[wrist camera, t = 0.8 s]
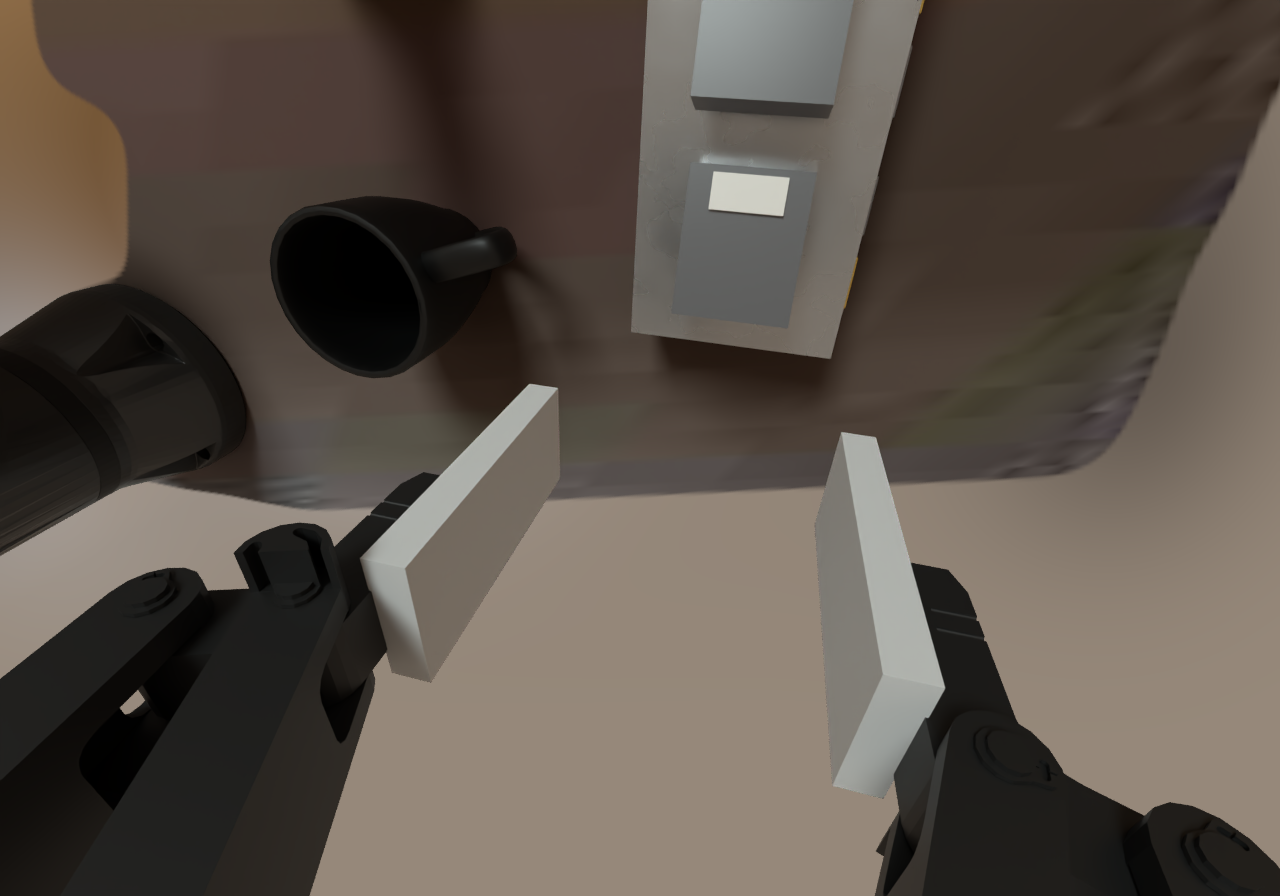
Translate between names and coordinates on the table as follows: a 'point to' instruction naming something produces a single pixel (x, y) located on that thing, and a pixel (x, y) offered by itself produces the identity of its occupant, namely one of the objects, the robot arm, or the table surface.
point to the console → (825, 146)
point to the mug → (382, 279)
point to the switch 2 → (742, 243)
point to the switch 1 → (770, 56)
